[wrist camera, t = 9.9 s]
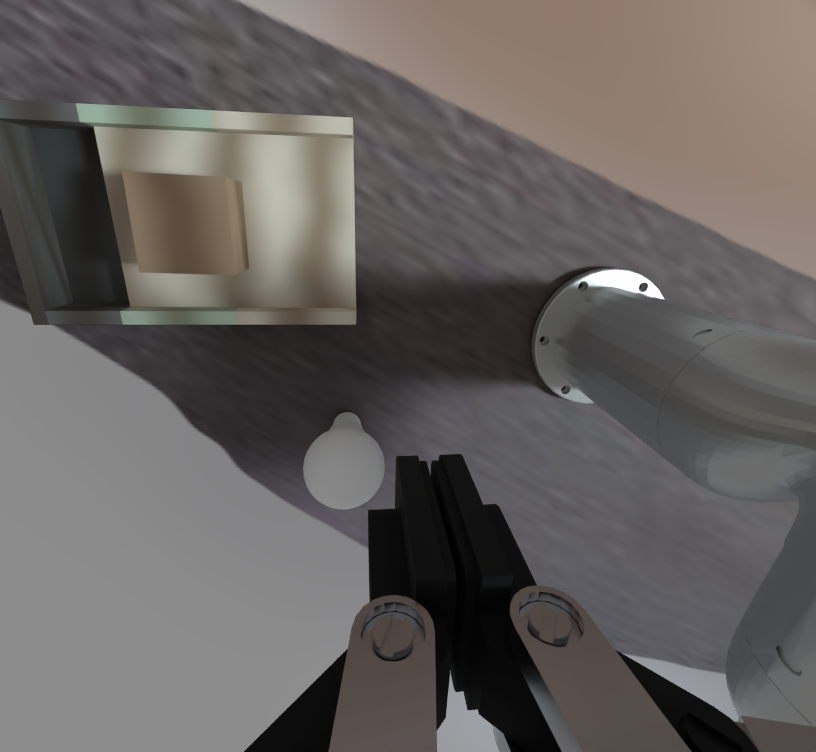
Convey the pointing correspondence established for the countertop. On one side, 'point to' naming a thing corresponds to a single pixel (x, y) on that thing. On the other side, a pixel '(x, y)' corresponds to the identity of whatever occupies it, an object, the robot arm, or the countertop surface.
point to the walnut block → (187, 223)
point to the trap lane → (187, 155)
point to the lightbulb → (344, 465)
